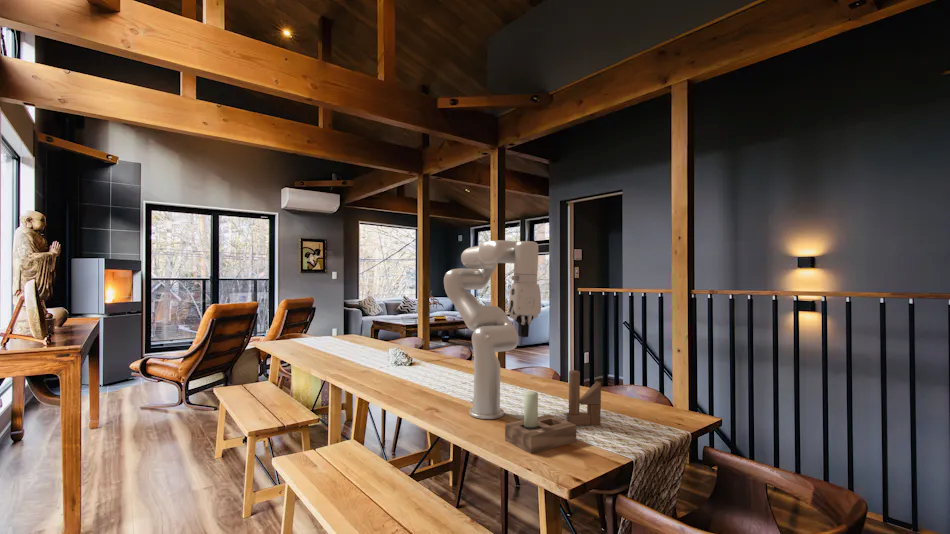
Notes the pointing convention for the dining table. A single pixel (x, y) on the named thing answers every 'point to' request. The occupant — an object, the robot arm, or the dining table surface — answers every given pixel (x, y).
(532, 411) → the peg
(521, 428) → the board
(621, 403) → the dining table surface
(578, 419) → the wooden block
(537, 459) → the dining table surface
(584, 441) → the dining table surface
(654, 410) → the dining table surface
